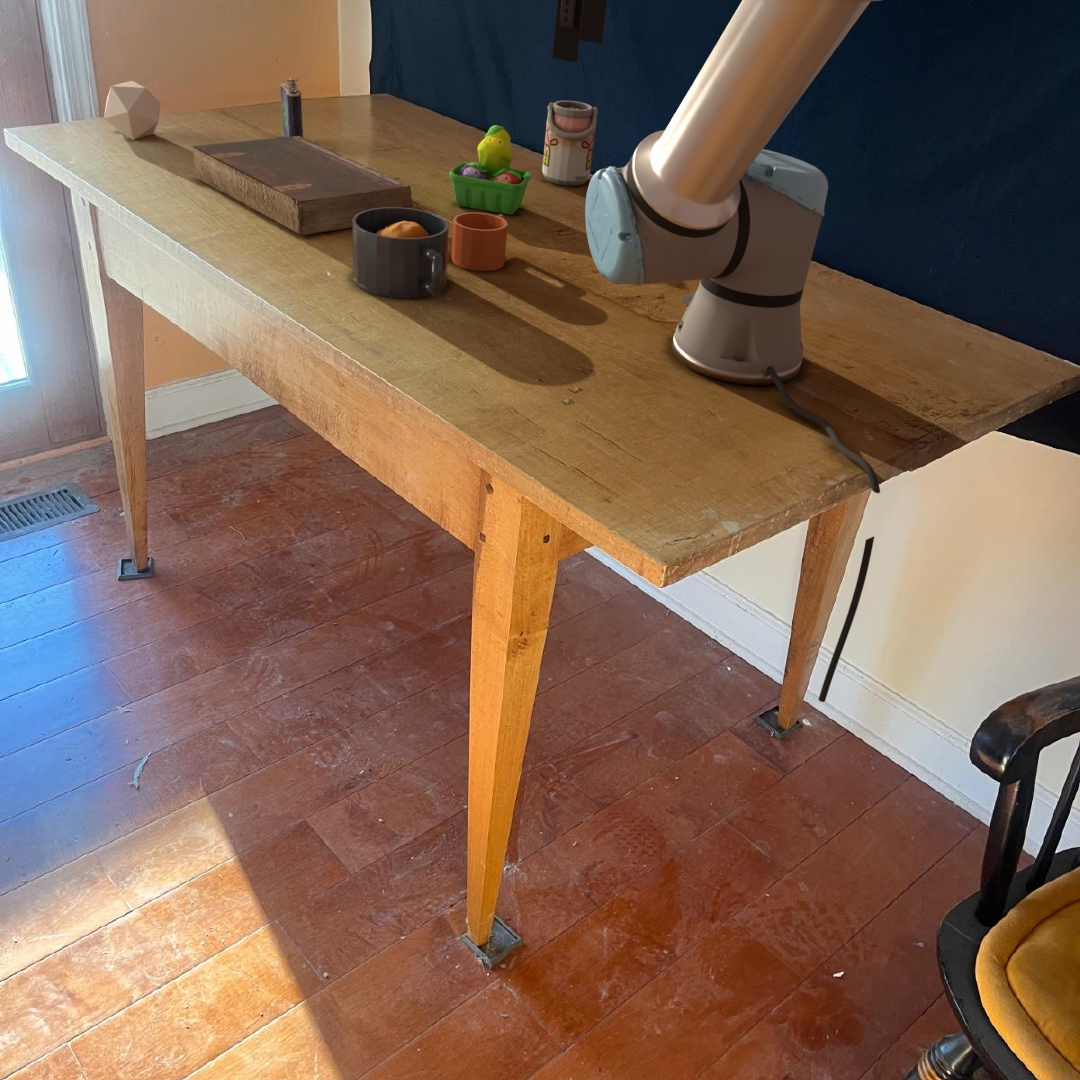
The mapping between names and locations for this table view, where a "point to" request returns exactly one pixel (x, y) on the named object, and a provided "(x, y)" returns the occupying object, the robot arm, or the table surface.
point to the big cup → (399, 254)
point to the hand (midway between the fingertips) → (578, 50)
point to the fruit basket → (491, 177)
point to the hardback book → (297, 182)
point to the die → (132, 110)
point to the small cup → (479, 241)
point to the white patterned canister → (569, 142)
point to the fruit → (404, 230)
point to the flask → (291, 109)
